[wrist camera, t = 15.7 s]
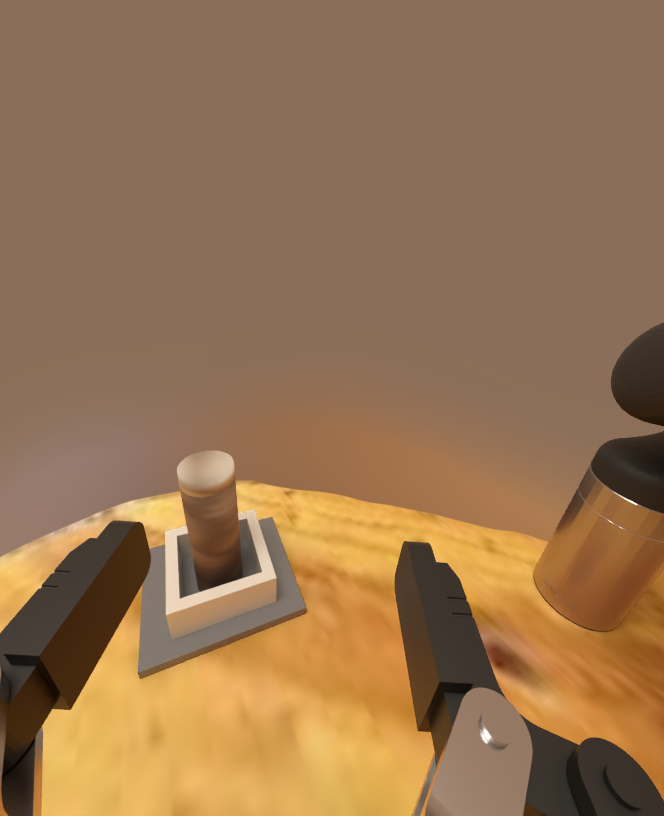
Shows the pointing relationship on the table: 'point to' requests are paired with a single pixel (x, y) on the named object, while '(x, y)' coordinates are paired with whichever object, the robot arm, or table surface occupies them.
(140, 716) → the table surface
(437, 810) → the robot arm
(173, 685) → the table surface
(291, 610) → the post well
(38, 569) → the table surface
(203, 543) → the walnut post
